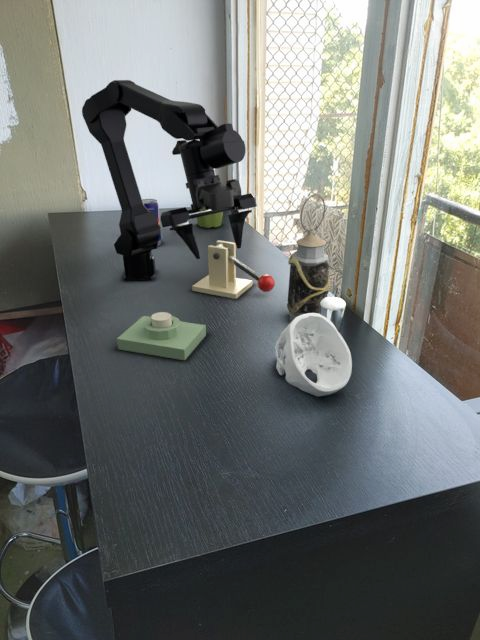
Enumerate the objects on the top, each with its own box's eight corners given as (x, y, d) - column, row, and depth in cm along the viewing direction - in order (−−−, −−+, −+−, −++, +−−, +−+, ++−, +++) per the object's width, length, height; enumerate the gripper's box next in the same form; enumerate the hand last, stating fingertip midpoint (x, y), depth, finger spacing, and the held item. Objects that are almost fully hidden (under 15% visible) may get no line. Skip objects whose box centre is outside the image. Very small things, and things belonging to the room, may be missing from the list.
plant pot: (227, 231, 160) (226, 193, 154) (188, 230, 160) (186, 192, 154) (230, 220, 170) (229, 185, 165) (193, 219, 170) (192, 184, 165)
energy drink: (157, 247, 145) (153, 203, 139) (139, 245, 146) (134, 202, 140) (164, 241, 149) (161, 199, 143) (146, 240, 150) (142, 198, 144)
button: (148, 327, 94) (147, 318, 93) (157, 319, 97) (156, 310, 96) (166, 330, 93) (166, 321, 92) (175, 322, 96) (174, 313, 95)
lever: (272, 291, 118) (280, 278, 115) (265, 297, 114) (273, 284, 112) (217, 253, 119) (224, 239, 116) (209, 258, 116) (216, 244, 113)
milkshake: (344, 338, 99) (349, 289, 95) (338, 350, 95) (344, 300, 90) (321, 334, 101) (325, 285, 96) (314, 346, 96) (318, 296, 91)
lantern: (305, 307, 112) (313, 187, 99) (335, 319, 107) (347, 194, 94) (277, 319, 106) (282, 193, 94) (307, 332, 101) (316, 202, 89)
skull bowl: (305, 340, 95) (330, 302, 85) (338, 409, 89) (369, 376, 79) (253, 352, 91) (273, 312, 80) (284, 424, 85) (310, 392, 75)
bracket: (252, 285, 122) (252, 242, 117) (236, 299, 115) (235, 254, 110) (210, 277, 126) (209, 235, 120) (192, 290, 118) (189, 246, 113)
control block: (118, 349, 94) (115, 329, 92) (144, 325, 102) (142, 307, 100) (184, 360, 91) (183, 340, 89) (206, 335, 99) (205, 316, 97)
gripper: (168, 176, 90) (190, 264, 94) (261, 158, 98) (277, 241, 102) (150, 184, 100) (171, 264, 104) (236, 168, 108) (252, 243, 112)
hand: (219, 253), depth 105 cm, fingers open, 9 cm apart
